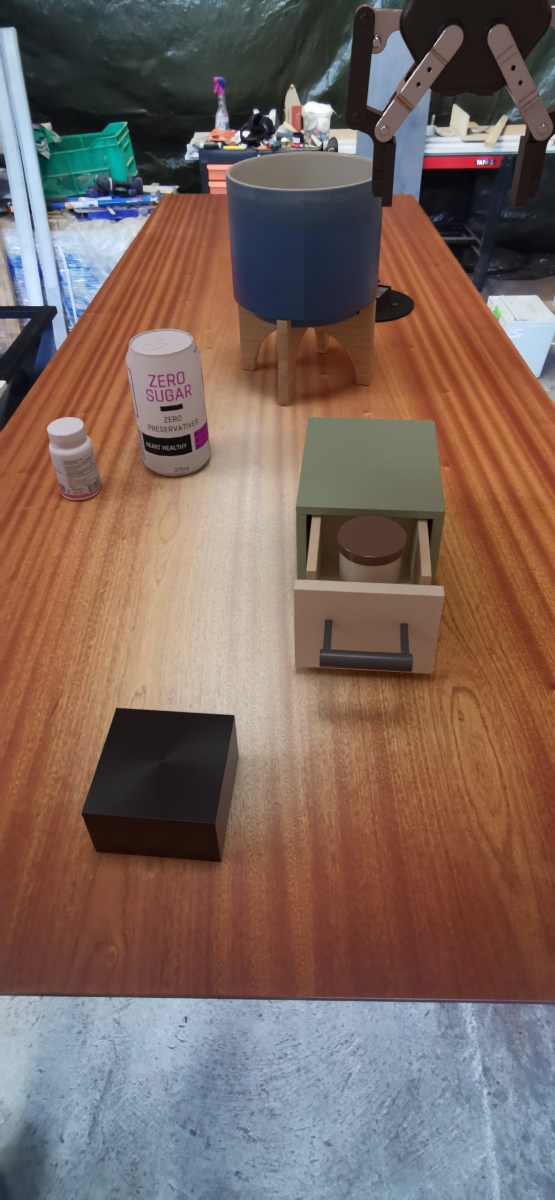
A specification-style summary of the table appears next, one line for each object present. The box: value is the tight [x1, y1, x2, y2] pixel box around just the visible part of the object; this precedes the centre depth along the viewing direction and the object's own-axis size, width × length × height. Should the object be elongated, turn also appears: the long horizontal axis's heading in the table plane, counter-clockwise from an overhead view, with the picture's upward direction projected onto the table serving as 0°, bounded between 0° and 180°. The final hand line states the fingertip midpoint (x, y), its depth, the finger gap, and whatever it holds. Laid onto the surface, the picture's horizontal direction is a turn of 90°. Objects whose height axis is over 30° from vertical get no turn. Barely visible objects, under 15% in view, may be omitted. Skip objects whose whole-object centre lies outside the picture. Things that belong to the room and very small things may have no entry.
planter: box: [225, 150, 384, 407], centre depth 98 cm, size 19×19×26 cm
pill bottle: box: [46, 416, 102, 501], centre depth 83 cm, size 5×5×8 cm
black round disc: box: [375, 278, 415, 323], centre depth 124 cm, size 15×15×6 cm
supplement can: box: [124, 328, 211, 477], centre depth 85 cm, size 8×8×15 cm
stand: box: [80, 707, 240, 862], centre depth 53 cm, size 9×9×5 cm
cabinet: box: [295, 416, 446, 586], centre depth 73 cm, size 16×13×11 cm
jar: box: [337, 516, 406, 584], centre depth 63 cm, size 6×6×9 cm
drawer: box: [293, 515, 445, 675], centre depth 63 cm, size 19×12×9 cm, turn 174°
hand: (451, 204), depth 49 cm, fingers open, 8 cm apart
